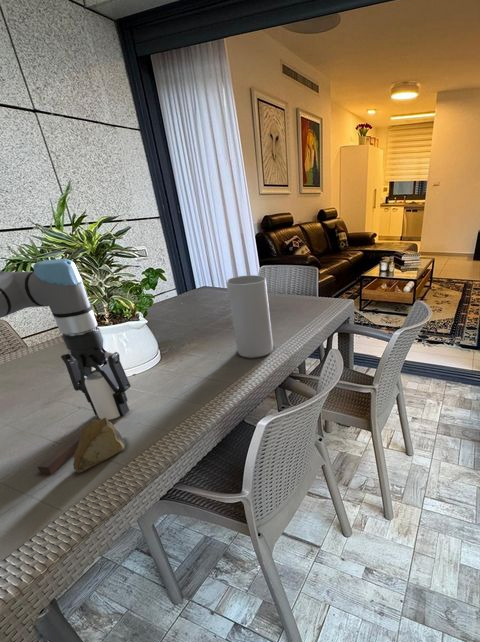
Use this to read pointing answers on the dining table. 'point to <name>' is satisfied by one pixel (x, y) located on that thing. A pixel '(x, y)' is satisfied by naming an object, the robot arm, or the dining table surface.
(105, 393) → the can
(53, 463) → the walnut stick
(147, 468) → the dining table surface
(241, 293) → the cylinder vase
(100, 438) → the rock
